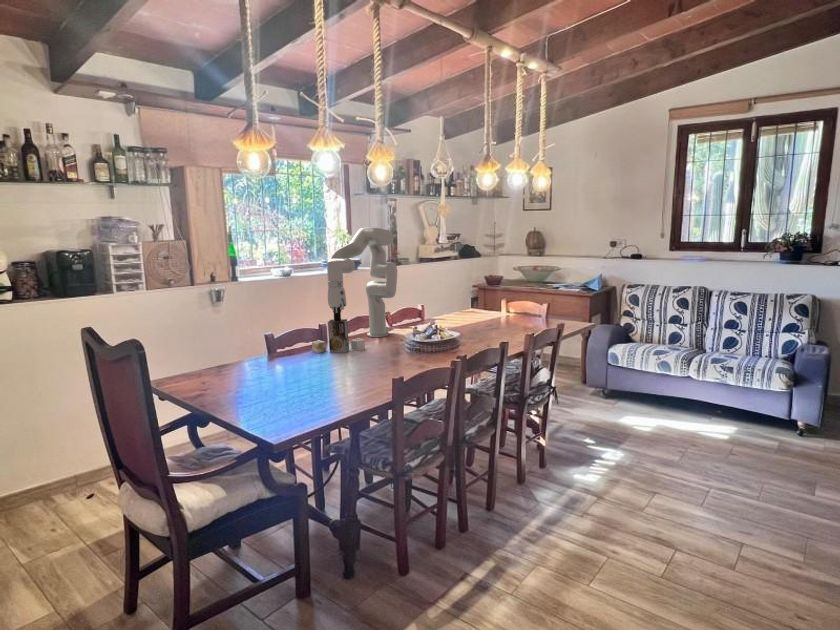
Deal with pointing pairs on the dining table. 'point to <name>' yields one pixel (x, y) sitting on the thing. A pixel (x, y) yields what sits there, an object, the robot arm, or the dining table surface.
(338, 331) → the coffee box
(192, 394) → the dining table surface
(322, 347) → the birch block marked
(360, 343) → the grey block marked
